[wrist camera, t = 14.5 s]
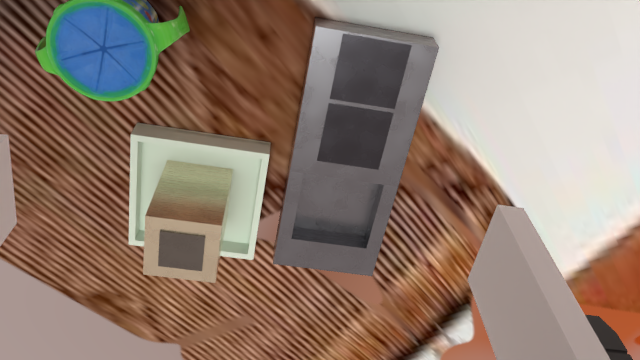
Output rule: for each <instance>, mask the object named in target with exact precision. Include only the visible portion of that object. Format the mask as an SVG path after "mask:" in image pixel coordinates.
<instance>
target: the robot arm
mask: <svg viewBox="0 0 640 360" xmlns="http://www.w3.org/2000/svg"><path fill="white" fill-rule="evenodd" d="M16 223H17V219H16V209H15V199H14V189H13V179H12V169H11V159H10V149H9V139H8V135H3V134H0V246H1V244H2V243H3V242H4V240H5V239H6V237H7V236H8V234H9V233H10V232H11V230H12V229H13V227H14V226H15V225H16ZM468 282H469V285H470V287H471V290H472V293H473V296H474V298H475V301H476V304H477V307H478V309H479V312H480V315H481V318H482V320H483V323H484V326H485V328H486V331H487V334H488V337H489V340H490V342H491V345H492V348H493V351H494V353H495V356H496V359H497V360H633V359H632V357H631V356H630V355H629V354H627V349H626V348H625V346H624V345H623V343H622V341H621V340H620V338H619V336H618V335H617V333H616V332H615V331H614V330H612V329H611V327H609V326H608V325H607V324H606V323H605V322H604V321H603V320H602V319H601V318H600V317H599V316H591V315H585V314H584V313H583V311H582V310H581V308H580V306H579V304H578V302H577V301H576V299H575V297H574V295H573V294H572V292H571V290H570V288H569V287H568V285H567V283H566V281H565V280H564V278H563V276H562V274H561V273H560V271H559V269H558V268H557V266H556V264H555V262H554V261H553V259H552V257H551V255H550V254H549V252H548V250H547V248H546V247H545V245H544V243H543V241H542V240H541V238H540V236H539V234H538V233H537V231H536V229H535V228H534V226H533V224H532V222H531V221H530V219H529V217H528V215H527V214H526V212H525V210H524V208H518V207H511V206H504V205H497V208H496V210H495V212H494V215H493V217H492V220H491V222H490V225H489V227H488V230H487V232H486V235H485V237H484V240H483V242H482V245H481V247H480V250H479V252H478V255H477V257H476V260H475V262H474V265H473V267H472V270H471V272H470V275H469V277H468Z"/></svg>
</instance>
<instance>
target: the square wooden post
mask: <svg viewBox="0 0 640 360" xmlns="http://www.w3.org/2000/svg"><path fill="white" fill-rule="evenodd" d="M232 173H233V169H229V168H222V167H215V166H208V165H201V164H193V163H186V162H179V161H172V160H167V162H166V165H165V167H164V170H163V172H162V175H161V177H160V180H159V182H158V185H157V187H156V190H155V192H154V195H153V197H152V200H151V202H150V205H149V207H148V210H147V212H146V215H145V235H144V266H143V274H144V275H153V276H162V277H170V278H179V279H187V280H196V281H205V282H213V283H215V282H216V276H217V271H218V266H219V260H220V255H221V250H222V244H223V239H224V234H225V228H226V223H227V215H228V207H229V199H230V190H231V182H232Z"/></svg>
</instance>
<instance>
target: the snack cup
mask: <svg viewBox="0 0 640 360" xmlns="http://www.w3.org/2000/svg"><path fill="white" fill-rule="evenodd" d="M53 14H54V15H53V16H52V18H51V20H50V22H49V24H48V27H47V31H46V37H44V38H42V39H41V41H40V42H39V44H38V46H37V48H36V50H35V53H36V56H37V58H38V60H39V62H40V64H41V66H42V68H43V69H44V70H45V71H47V72H49V73H53V74H57V75H59V76H60V77H61V78H62V80H63V81H64V82H65V83H67V84H68V85H69V86H70V87H71V88H73V89H74V90H76V91H77V92H79V93H81V94H83V95H85V96H87V97H90V98H92V99H95V100H102V101H120V100H124V99H127V98H130V97H132V96H134V95H136V94H138V93H139V92H140V91H144V90H145V89H146V88H147V87H148V86H149V85H150V81H151V79H152V77H153V76H154V73H155V71H156V68H157V64H158V55H159V53H160V52H161V51H163V50H164V49H166V48H167V47H168V46H170V45H171V44H172V43H173V42H175V41H177V40H178V39H179V38H180V37H181V36H183V35H184V34H185V33H187V32H189V31H190V29H189V25H188V22H187V18H186V15H185V13H184V10H183V8H182V6H179V14H178V17H177V18H176V19H174V20H170V21H167V22H163V23H159V20H158V16H157V13H156V12H155V10H154V9H153V7H152V6H151V5H150V4H149V2H148V1H147V0H69V1H67V2H66V3H65V4H61V5H59V6H58V7H57V8H56V9H55V10H54V12H53Z"/></svg>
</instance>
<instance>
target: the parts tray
mask: <svg viewBox="0 0 640 360" xmlns="http://www.w3.org/2000/svg"><path fill="white" fill-rule="evenodd" d="M270 145H271V142H265V141H258V140H251V139H244V138H238V137H231V136H224V135H217V134H211V133H204V132H197V131H190V130H184V129H177V128H170V127H163V126H157V125H150V124H143V123H137V124H136V126H135V127H134V129H133V131H132V133H131V148H130V200H129V245H137V246H144V235H145V215H146V212H147V210H148V207H149V205H150V202H151V200H152V197H153V195H154V192H155V190H156V187H157V185H158V182H159V180H160V177H161V175H162V172H163V170H164V167H165V165H166V162H167V160H172V161H179V162H186V163H193V164H201V165H208V166H215V167H222V168H229V169H233V173H232V182H231V190H230V199H229V207H228V215H227V223H226V228H225V234H224V239H223V244H222V250H221V255H220V256H225V257H233V258H241V259H249V260H253V257H254V251H255V244H256V238H257V232H258V225H259V219H260V212H261V206H262V200H263V193H264V187H265V181H266V174H267V168H268V161H269V155H270Z"/></svg>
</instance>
